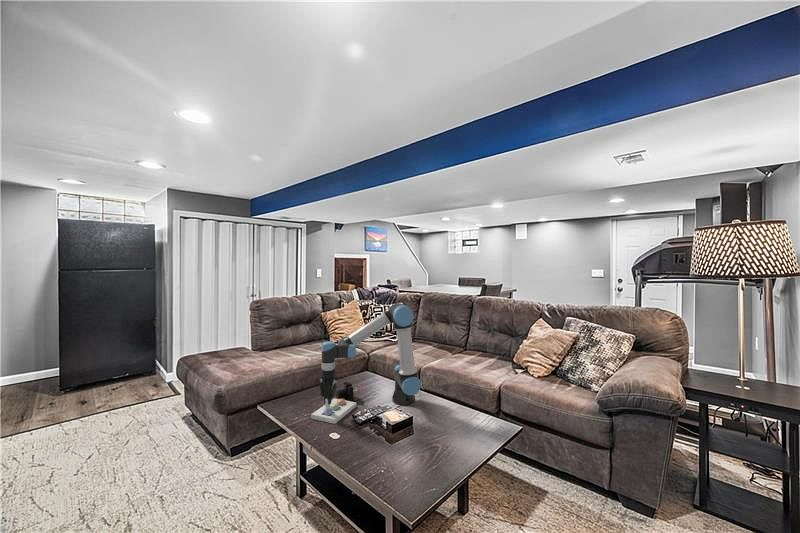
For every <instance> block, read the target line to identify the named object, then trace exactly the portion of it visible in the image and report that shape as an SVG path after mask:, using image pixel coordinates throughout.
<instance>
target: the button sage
mask: <svg viewBox="0 0 800 533" xmlns="http://www.w3.org/2000/svg"><path fill="white" fill-rule="evenodd" d="M331 408H332V410H333V411H337V410H338V409H339V404H338V403H333V404H331Z"/></svg>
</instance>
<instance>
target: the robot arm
mask: <svg viewBox="0 0 800 533" xmlns="http://www.w3.org/2000/svg"><path fill="white" fill-rule="evenodd" d="M413 321H414V313H413V311H412V309H411V308H410V307H409V306H407V305H405V304H403V303H400V302H398V303H394V304H392V305H390V306H389V307H387V308H385V309H384V310H383V311H382V313H381V314H379V315H378V316H377V317H375V318H374V319H372V320H370V321H369V322H368V323H366V324H364V325H363V326H362V327H360V328H358V329H356V331H354V332H352V333H351V334H349V335H348V336H346V337H342V338H340V339H339V340H338V341H337V342H338V343H337V344H336V342H335V341H330V340H329V341H324V342H323V343H322V344H321V345H322V346H321V378H320V379H317V383H318V386H319V390H320V396H321V397H322V398H324V401H323V402H324V405H325V410H329V409H330V404H331V400H333V399H334V398H335V397H336V391H337V388H338V385H339V383H340V382H339V381H337V380H336V377H335V374H336V373H335V372H336V369H335V368H336V359H351V358H355V357H356V355H357V348H356V346H357V345H358V344H360V343H362V342H363V341H365V340H367V339H368V338H369V337H372V335H374V334H375V333H377V332H379V331H380V330H381V329H383V328H385V327H386V326H388V325H393V329H394V330H395V332H396V338H397V346H398V356H399V364H397V365H396V366H395V367H394V391H393V393H392V396H391V401H392V403H394V404H396V405H398V406H399V405H400V406H409V405H413V404H414V403H415V402H416V394H418V393H419V392H420V390H421V388H422V382H421V380H420V379H419V373H418V368H417V367H415V356H414V349H413V348H414V347H413V340H412V331H411V330H412V328H413Z"/></svg>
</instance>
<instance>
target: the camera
mask: <svg viewBox="0 0 800 533" xmlns="http://www.w3.org/2000/svg"><path fill="white" fill-rule="evenodd" d="M335 399H345V400H346V401H351V402H354V387H353V384H352V383H351V382H349V381H344V382H343V383H342V388H341V389H336V392H335Z"/></svg>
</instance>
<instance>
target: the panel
mask: <svg viewBox="0 0 800 533" xmlns="http://www.w3.org/2000/svg"><path fill="white" fill-rule="evenodd" d="M337 400H338V399H336V397H333V398H332V399H331V404H333V403H337ZM331 404H330V408H331ZM355 408H357V402H354V401H353V402H351V401H348V400H345V405H344V406H339V409H338V410H337V411H333V410H332V415H331V416H326V415H324V409H325V404H324V405H323V406H321V407H320V408H319V409H317V410H316V411H313V412H312V413H311V415H310V417H311V418H310V419H312V420H316V421H320V422H325V423H329V424H337V423H338V422H339V421H340V420H342V419H343V418H344V417H345V416H346V415H348V414H349V413H350V412H352V411H353V410H354V409H355Z"/></svg>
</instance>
